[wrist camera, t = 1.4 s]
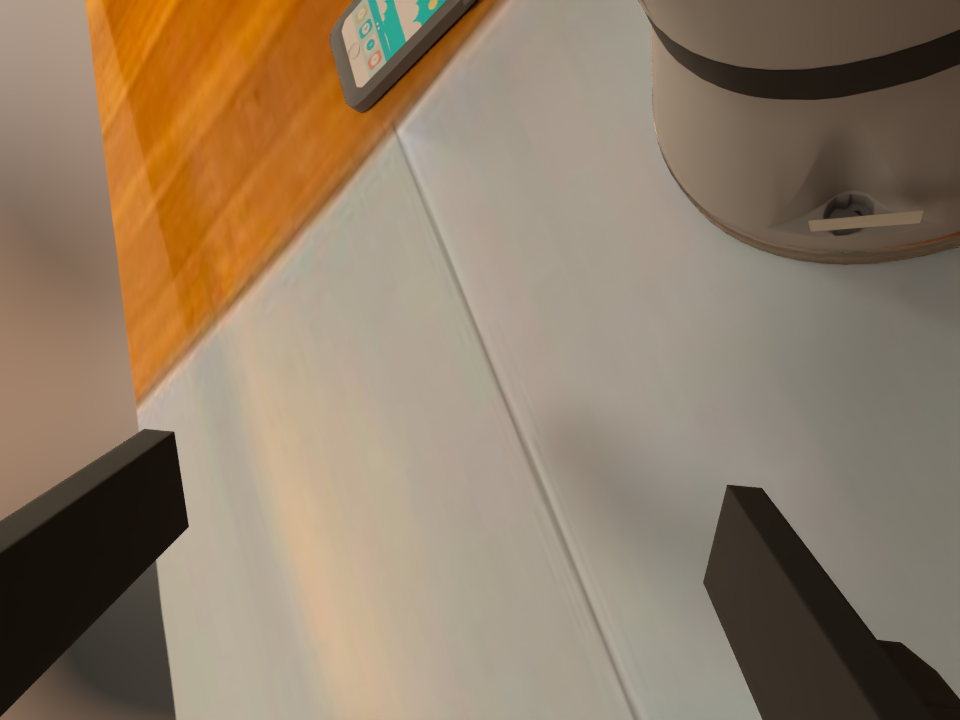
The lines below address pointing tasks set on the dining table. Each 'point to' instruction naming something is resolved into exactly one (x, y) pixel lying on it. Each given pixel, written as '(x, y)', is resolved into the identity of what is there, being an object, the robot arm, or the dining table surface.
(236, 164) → the dining table surface
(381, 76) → the smartphone
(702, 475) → the dining table surface
